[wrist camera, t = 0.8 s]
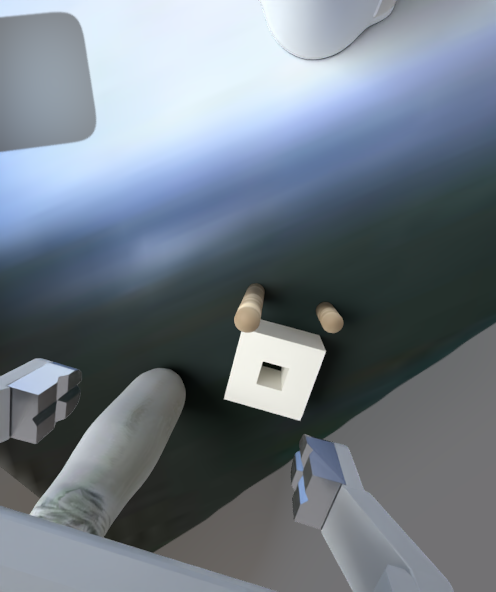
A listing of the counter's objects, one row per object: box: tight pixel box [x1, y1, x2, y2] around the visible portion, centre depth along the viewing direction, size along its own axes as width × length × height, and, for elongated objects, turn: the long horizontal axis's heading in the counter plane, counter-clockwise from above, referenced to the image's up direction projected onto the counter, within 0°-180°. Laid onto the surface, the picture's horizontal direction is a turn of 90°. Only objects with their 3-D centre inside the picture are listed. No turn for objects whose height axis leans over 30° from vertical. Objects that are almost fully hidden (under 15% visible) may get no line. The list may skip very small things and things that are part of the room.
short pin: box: [316, 302, 343, 333], centre depth 40 cm, size 3×3×6 cm
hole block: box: [224, 319, 326, 421], centre depth 43 cm, size 13×13×6 cm
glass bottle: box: [30, 368, 186, 537], centre depth 36 cm, size 10×10×28 cm
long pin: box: [234, 283, 265, 333], centre depth 36 cm, size 3×3×14 cm
